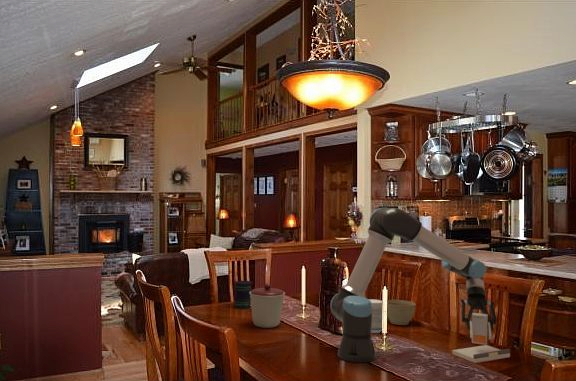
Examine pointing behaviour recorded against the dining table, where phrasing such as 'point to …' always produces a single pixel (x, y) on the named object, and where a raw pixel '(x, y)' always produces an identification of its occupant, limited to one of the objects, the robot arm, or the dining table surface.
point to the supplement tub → (376, 316)
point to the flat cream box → (481, 353)
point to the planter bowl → (400, 311)
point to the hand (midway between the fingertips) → (480, 337)
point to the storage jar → (242, 295)
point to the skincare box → (479, 328)
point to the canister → (266, 306)
